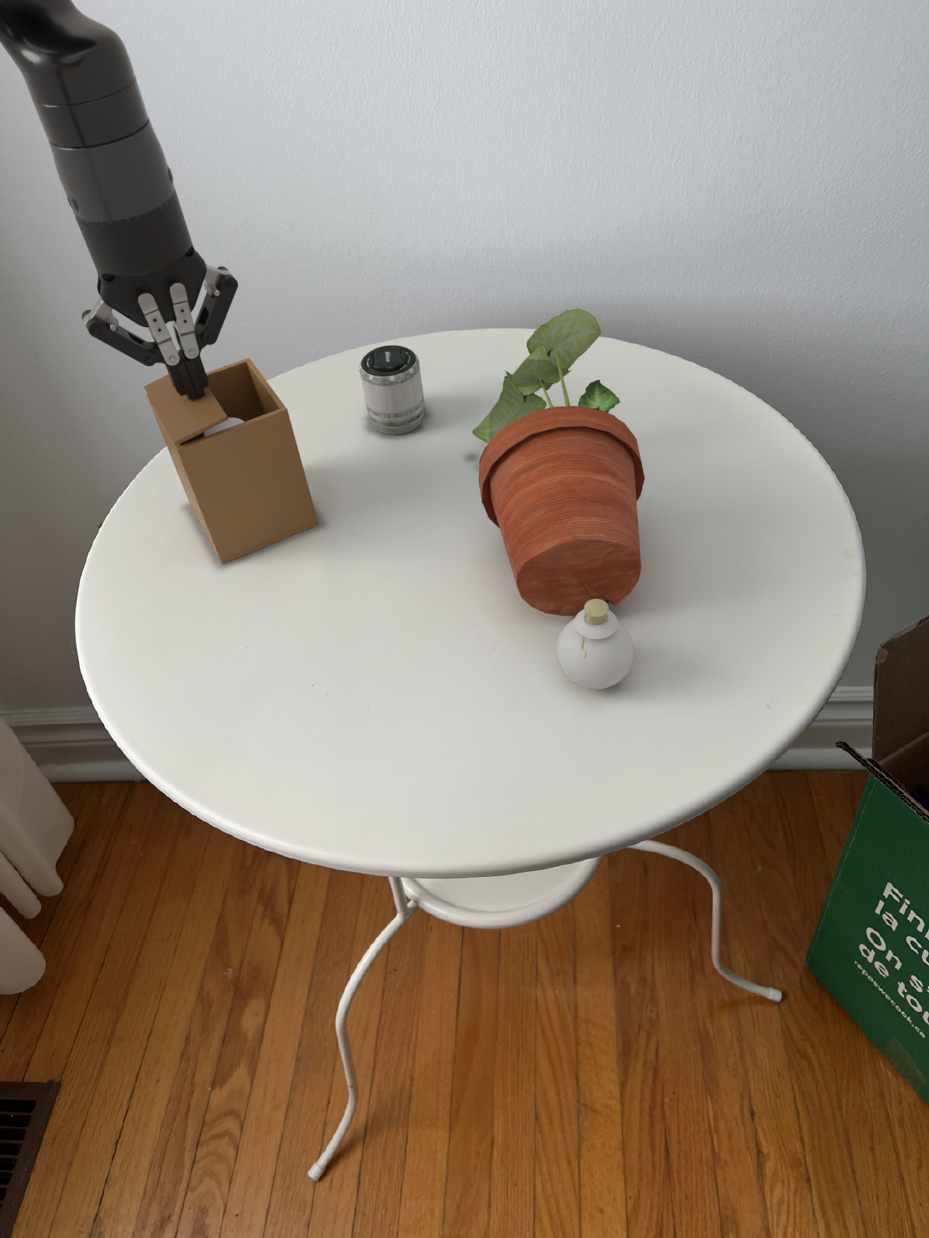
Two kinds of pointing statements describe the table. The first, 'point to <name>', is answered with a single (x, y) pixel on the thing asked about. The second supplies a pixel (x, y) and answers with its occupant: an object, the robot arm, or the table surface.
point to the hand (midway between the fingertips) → (193, 393)
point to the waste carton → (244, 467)
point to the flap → (184, 410)
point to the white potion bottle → (595, 647)
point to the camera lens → (392, 389)
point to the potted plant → (562, 478)
